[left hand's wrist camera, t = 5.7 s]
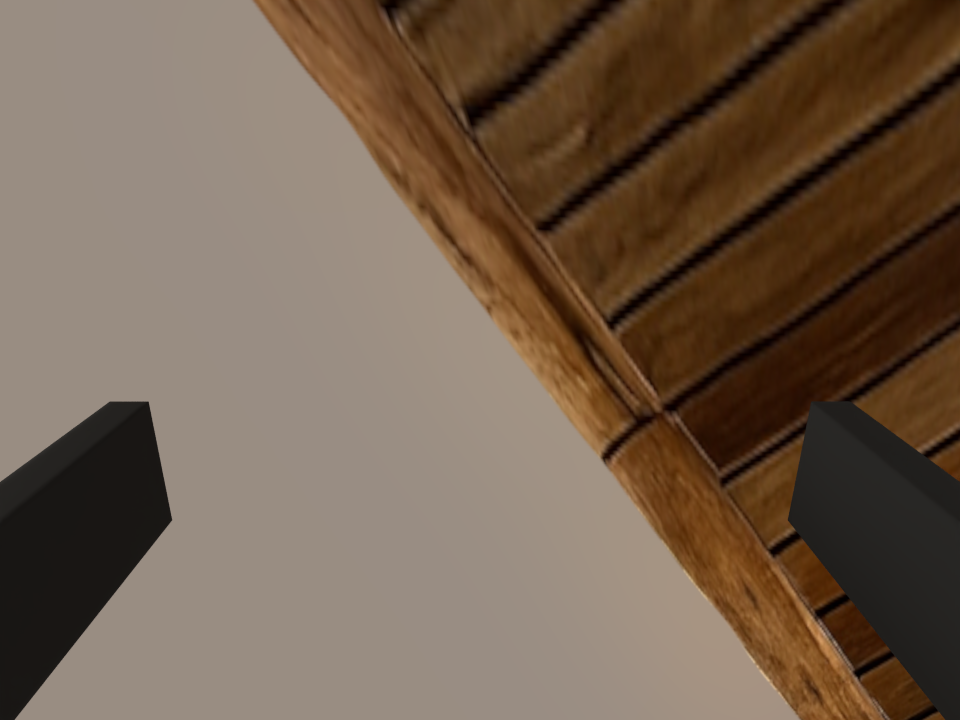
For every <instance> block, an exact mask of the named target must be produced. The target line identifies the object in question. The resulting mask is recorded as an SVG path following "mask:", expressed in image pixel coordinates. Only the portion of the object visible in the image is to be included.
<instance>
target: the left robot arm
mask: <svg viewBox="0 0 960 720" xmlns="http://www.w3.org/2000/svg"><path fill="white" fill-rule="evenodd" d="M171 521H172V517H171V512H170V507H169V502H168V497H167V492H166V487H165V482H164V477H163V472H162V467H161V462H160V457H159V452H158V447H157V442H156V437H155V432H154V427H153V422H152V417H151V412H150V407H149V402H109V403H107V404H106V405H105V406H103V407H102V408H101V409H99V410H98V411H97V412H95V413H94V414H92V415H91V416H90V417H88V418H87V419H86V420H84V421H83V422H81V423H80V424H79V425H77V426H76V427H75V428H73V429H72V430H71V431H69V432H68V433H67V434H65V435H64V436H62V437H61V438H60V439H58V440H57V441H56V442H54V443H53V444H51V445H50V446H49V447H47V448H46V449H45V450H43V451H42V452H41V453H39V454H38V455H37V456H35V457H34V458H32V459H31V460H30V461H28V462H27V463H26V464H24V465H23V466H21V467H20V468H19V469H17V470H16V471H15V472H13V473H12V474H11V475H9V476H8V477H6V478H5V479H4V480H2V481H1V482H0V720H15V718H16V717H17V716H18V715H19V713H20V712H21V711H22V710H23V708H24V707H25V706H26V705H27V703H28V702H29V701H30V699H31V698H32V697H33V696H34V694H35V693H36V692H37V691H38V689H39V688H40V687H41V686H42V684H43V683H44V682H45V680H46V679H47V678H48V677H49V675H50V674H51V673H52V672H53V670H54V669H55V668H56V667H57V665H58V664H59V663H60V661H61V660H62V659H63V658H64V656H65V655H66V654H67V653H68V651H69V650H70V649H71V647H72V646H73V645H74V644H75V642H76V641H77V640H78V639H79V637H80V636H81V635H82V634H83V632H84V631H85V630H86V629H87V627H88V626H89V625H90V623H91V622H92V621H93V620H94V618H95V617H96V616H97V615H98V613H99V612H100V611H101V610H102V608H103V607H104V606H105V605H106V603H107V602H108V601H109V599H110V598H111V597H112V596H113V594H114V593H115V592H116V591H117V589H118V588H119V587H120V585H121V584H122V583H123V582H124V580H125V579H126V578H127V577H128V575H129V574H130V573H131V572H132V570H133V569H134V568H135V567H136V565H137V564H138V563H139V561H140V560H141V559H142V558H143V556H144V555H145V554H146V553H147V551H148V550H149V549H150V548H151V546H152V545H153V544H154V542H155V541H156V540H157V539H158V537H159V536H160V535H161V534H162V532H163V531H164V530H165V528H166V527H167V526H168V525H169V523H170V522H171ZM788 521H789V522H790V523H791V525H792V526H793V527H794V529H795V530H796V531H797V532H798V534H799V535H800V536H801V537H802V539H803V540H804V541H805V542H806V544H807V545H808V546H809V548H810V549H811V550H812V551H813V553H814V554H815V555H816V556H817V558H818V559H819V560H820V561H821V563H822V564H823V565H824V567H825V568H826V569H827V570H828V572H829V573H830V574H831V575H832V577H833V578H834V579H835V580H836V582H837V583H838V584H839V586H840V587H841V588H842V589H843V591H844V592H845V593H846V594H847V596H848V597H849V598H850V599H851V601H852V602H853V603H854V605H855V606H856V607H857V608H858V610H859V611H860V612H861V613H862V615H863V616H864V617H865V618H866V620H867V621H868V622H869V623H870V625H871V626H872V627H873V629H874V630H875V631H876V632H877V634H878V635H879V636H880V637H881V639H882V640H883V641H884V642H885V644H886V645H887V646H888V648H889V649H890V650H891V651H892V653H893V654H894V655H895V656H896V658H897V659H898V660H899V661H900V663H901V664H902V665H903V667H904V668H905V669H906V670H907V672H908V673H909V674H910V675H911V677H912V678H913V679H914V680H915V682H916V683H917V684H918V686H919V687H920V688H921V689H922V691H923V692H924V693H925V694H926V696H927V697H928V698H929V699H930V701H931V702H932V703H933V705H934V706H935V707H936V708H937V710H938V711H939V712H940V713H941V715H942V716H943V717H944V718H945V720H960V482H959V481H958V480H956V479H955V478H954V477H952V476H951V475H949V474H948V473H947V472H945V471H944V470H943V469H941V468H940V467H939V466H937V465H936V464H934V463H933V462H932V461H930V460H929V459H928V458H926V457H925V456H924V455H922V454H921V453H919V452H918V451H917V450H915V449H914V448H913V447H911V446H910V445H909V444H907V443H906V442H904V441H903V440H902V439H900V438H899V437H898V436H896V435H895V434H894V433H892V432H891V431H889V430H888V429H887V428H885V427H884V426H883V425H881V424H880V423H879V422H877V421H876V420H874V419H873V418H872V417H870V416H869V415H868V414H866V413H865V412H864V411H862V410H861V409H859V408H858V407H857V406H855V405H854V404H853V403H851V402H811V406H810V411H809V417H808V422H807V427H806V432H805V437H804V442H803V447H802V452H801V457H800V462H799V467H798V472H797V477H796V482H795V487H794V492H793V497H792V502H791V507H790V512H789V517H788Z"/></svg>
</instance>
